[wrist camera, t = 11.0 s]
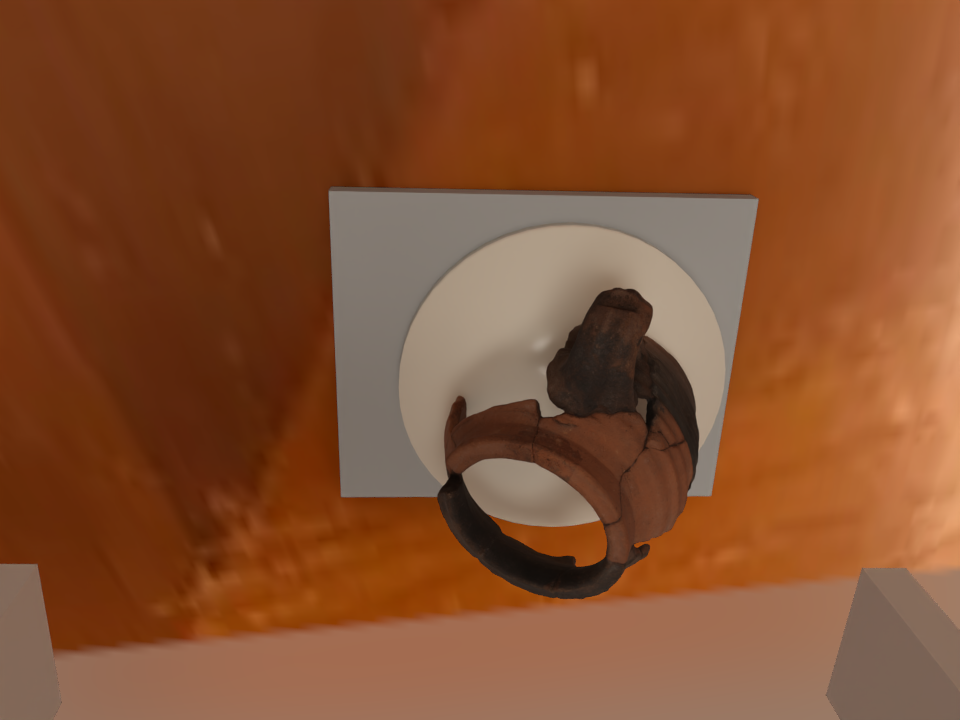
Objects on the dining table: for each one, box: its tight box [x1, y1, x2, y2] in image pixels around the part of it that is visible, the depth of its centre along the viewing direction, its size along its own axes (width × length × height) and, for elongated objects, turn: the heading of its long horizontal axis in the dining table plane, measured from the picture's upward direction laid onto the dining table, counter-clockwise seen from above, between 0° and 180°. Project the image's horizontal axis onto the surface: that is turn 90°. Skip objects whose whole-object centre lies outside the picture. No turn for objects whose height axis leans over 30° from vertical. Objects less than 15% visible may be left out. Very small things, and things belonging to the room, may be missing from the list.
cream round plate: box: [398, 222, 725, 527], centre depth 34 cm, size 13×13×1 cm
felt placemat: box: [329, 187, 759, 497], centre depth 34 cm, size 16×13×1 cm
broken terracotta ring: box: [437, 288, 699, 599], centre depth 31 cm, size 12×10×8 cm
